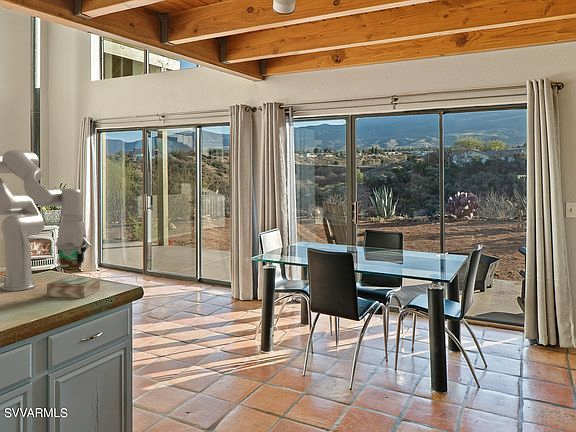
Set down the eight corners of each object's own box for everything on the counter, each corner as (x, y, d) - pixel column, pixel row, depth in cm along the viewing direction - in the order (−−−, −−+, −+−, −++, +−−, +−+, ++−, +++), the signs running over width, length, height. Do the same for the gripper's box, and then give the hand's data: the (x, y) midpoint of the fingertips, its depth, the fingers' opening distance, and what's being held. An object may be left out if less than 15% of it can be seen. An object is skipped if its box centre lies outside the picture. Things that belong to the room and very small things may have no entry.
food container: (72, 269, 185) (71, 245, 184) (58, 269, 186) (57, 244, 185) (90, 264, 197) (90, 241, 196) (78, 263, 198) (77, 240, 197)
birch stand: (46, 296, 187) (46, 283, 186) (64, 289, 199) (64, 276, 199) (84, 298, 185) (83, 284, 185) (99, 290, 197) (99, 278, 197)
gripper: (46, 219, 187) (48, 263, 188) (87, 220, 185) (88, 264, 186) (58, 217, 194) (59, 260, 196) (96, 218, 192) (98, 261, 194)
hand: (73, 262), depth 191 cm, fingers closed on food container, 5 cm apart
